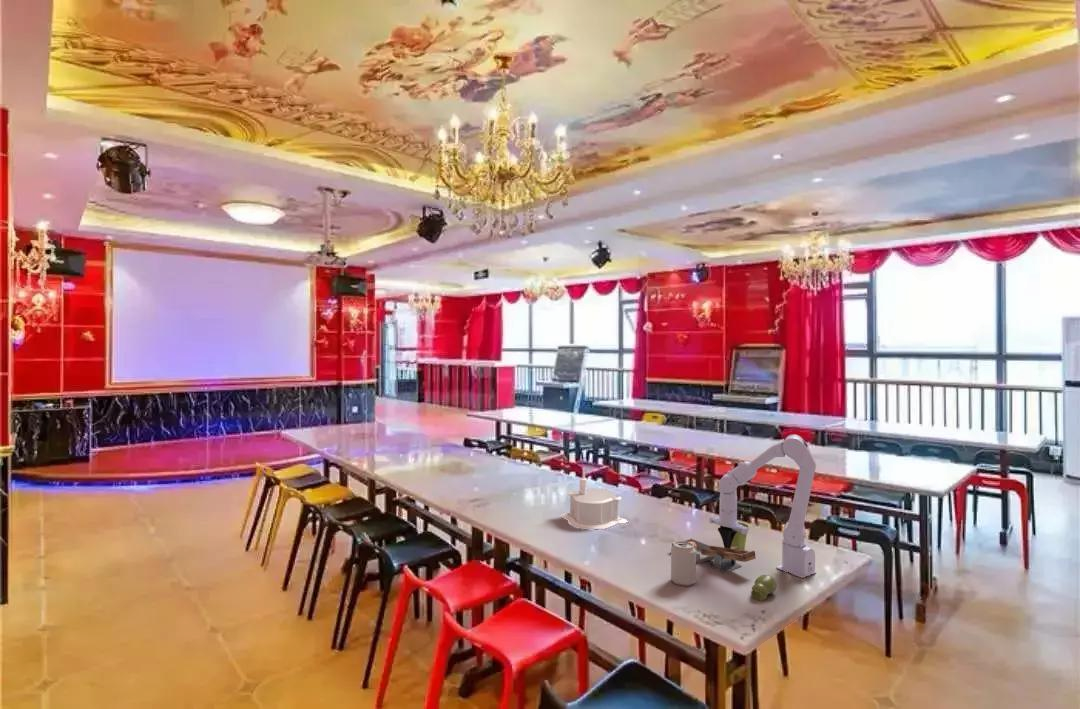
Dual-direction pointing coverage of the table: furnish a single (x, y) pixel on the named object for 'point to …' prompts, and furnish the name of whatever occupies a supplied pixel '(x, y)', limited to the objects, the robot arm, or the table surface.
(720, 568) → the fulcrum
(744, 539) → the plant pot
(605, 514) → the birthday cake
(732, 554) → the plank
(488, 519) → the table surface
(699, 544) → the tray
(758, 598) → the pear
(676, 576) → the can
